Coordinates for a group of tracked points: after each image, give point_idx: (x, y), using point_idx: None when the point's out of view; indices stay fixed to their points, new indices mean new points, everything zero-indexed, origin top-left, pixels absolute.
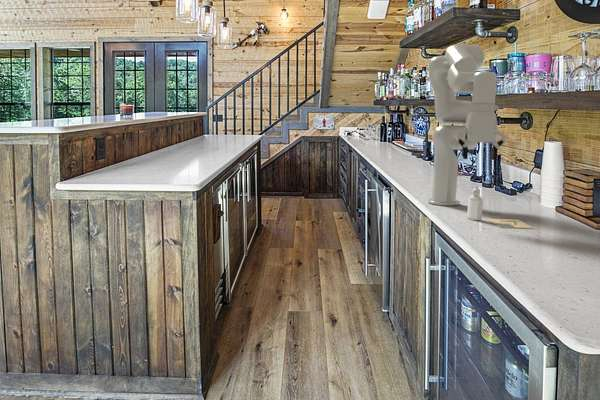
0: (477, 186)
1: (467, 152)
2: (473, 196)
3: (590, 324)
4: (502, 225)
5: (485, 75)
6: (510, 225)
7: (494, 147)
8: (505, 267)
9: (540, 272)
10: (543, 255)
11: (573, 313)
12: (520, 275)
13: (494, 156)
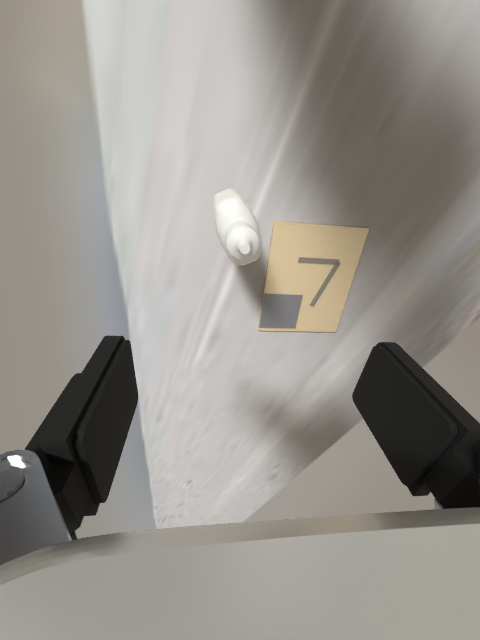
0: (247, 252)
1: (118, 452)
2: (225, 244)
3: None
4: (271, 318)
5: None
6: (292, 316)
7: (433, 489)
8: (167, 510)
9: (199, 516)
10: (237, 474)
11: None
12: (174, 523)
13: (369, 419)
